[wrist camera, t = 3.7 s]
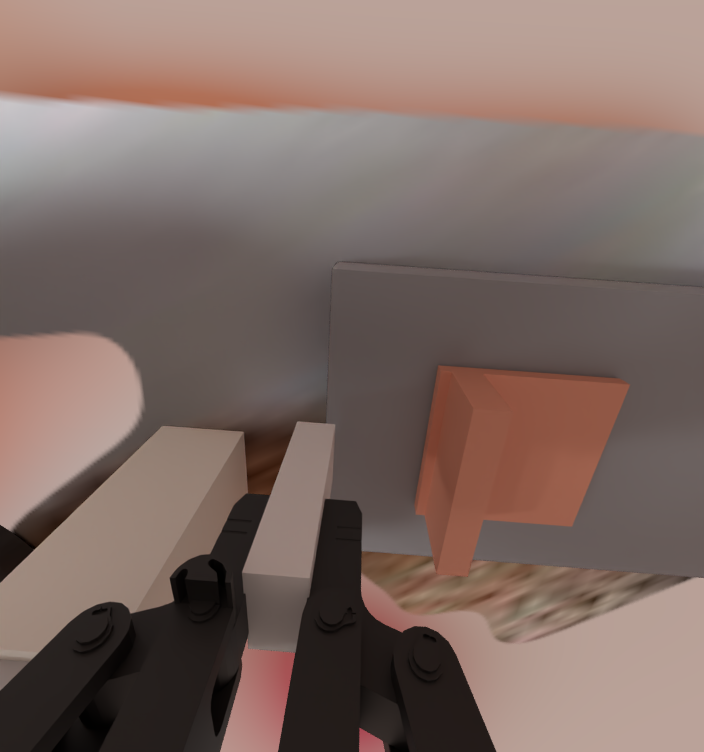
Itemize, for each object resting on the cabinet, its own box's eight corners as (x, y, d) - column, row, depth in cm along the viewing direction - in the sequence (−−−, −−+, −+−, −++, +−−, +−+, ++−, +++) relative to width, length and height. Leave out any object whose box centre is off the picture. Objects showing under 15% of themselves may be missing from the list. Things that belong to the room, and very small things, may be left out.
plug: (173, 490, 21) (-26, 760, 10) (162, 425, 19) (-91, 670, 9) (248, 496, 21) (125, 773, 10) (243, 431, 19) (90, 686, 9)
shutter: (414, 504, 17) (425, 573, 13) (438, 365, 14) (460, 407, 11) (565, 516, 17) (614, 588, 13) (619, 378, 14) (699, 425, 11)
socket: (327, 505, 21) (320, 547, 18) (338, 261, 16) (331, 268, 13) (662, 531, 21) (708, 578, 18) (793, 293, 15) (888, 307, 13)
